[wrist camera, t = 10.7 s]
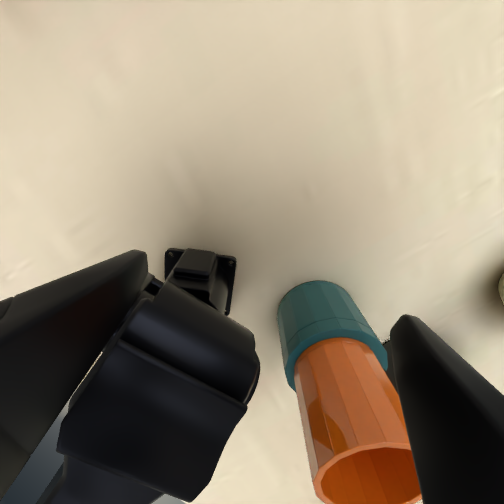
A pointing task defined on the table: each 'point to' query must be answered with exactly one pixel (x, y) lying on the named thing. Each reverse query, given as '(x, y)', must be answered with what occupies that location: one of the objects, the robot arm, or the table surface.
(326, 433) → the orange cup
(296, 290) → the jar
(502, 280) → the flower pot
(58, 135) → the table surface
